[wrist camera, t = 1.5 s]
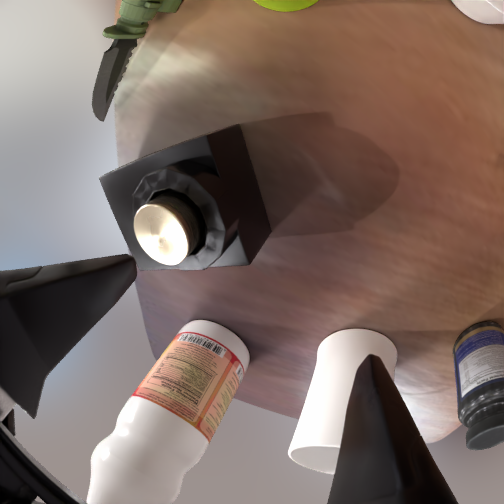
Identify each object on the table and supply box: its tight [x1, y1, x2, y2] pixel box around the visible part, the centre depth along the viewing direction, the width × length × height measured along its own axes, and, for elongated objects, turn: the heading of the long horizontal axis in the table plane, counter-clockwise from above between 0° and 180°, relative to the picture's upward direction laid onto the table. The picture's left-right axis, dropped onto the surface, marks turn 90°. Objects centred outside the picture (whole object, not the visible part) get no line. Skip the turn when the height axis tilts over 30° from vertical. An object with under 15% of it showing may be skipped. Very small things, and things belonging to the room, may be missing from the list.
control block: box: [99, 124, 272, 271], centre depth 21 cm, size 12×9×7 cm
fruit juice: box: [86, 320, 250, 504], centre depth 24 cm, size 9×9×28 cm
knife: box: [92, 0, 182, 121], centre depth 17 cm, size 4×18×5 cm, turn 142°
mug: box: [288, 329, 397, 474], centre depth 24 cm, size 12×8×12 cm
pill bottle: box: [453, 322, 504, 450], centre depth 17 cm, size 6×6×11 cm
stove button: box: [134, 192, 205, 265], centre depth 17 cm, size 4×4×2 cm
